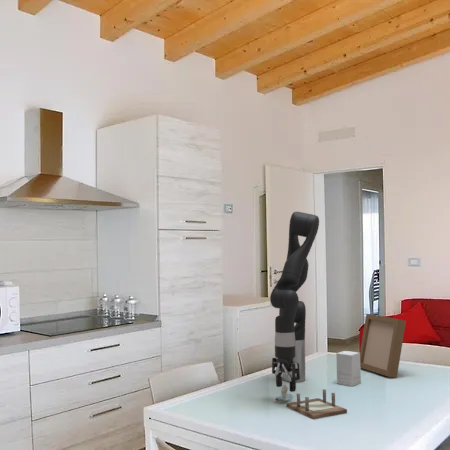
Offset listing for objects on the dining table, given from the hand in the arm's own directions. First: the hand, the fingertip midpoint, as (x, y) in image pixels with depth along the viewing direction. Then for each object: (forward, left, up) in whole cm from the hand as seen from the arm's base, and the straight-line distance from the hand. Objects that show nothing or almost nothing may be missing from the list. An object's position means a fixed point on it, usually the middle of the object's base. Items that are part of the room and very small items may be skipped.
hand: (285, 389), depth 201 cm
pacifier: (-2, -1, -5) cm, 5 cm away
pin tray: (+13, +4, -5) cm, 15 cm away
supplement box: (-10, +38, -5) cm, 39 cm away
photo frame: (-18, +66, -5) cm, 68 cm away
